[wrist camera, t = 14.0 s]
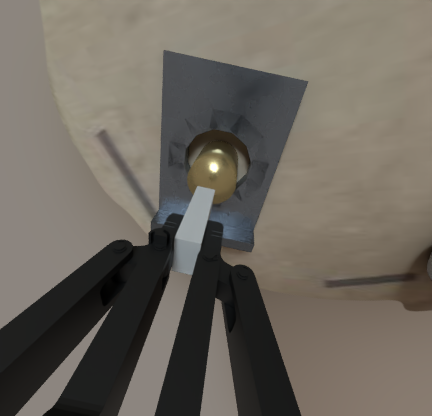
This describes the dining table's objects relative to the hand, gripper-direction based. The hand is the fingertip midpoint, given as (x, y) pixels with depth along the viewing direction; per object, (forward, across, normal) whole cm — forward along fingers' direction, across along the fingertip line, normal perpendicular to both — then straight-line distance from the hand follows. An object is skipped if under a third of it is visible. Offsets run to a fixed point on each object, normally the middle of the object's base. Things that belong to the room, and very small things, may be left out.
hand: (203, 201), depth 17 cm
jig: (+11, 0, 0) cm, 11 cm away
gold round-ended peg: (+11, 0, 0) cm, 11 cm away
